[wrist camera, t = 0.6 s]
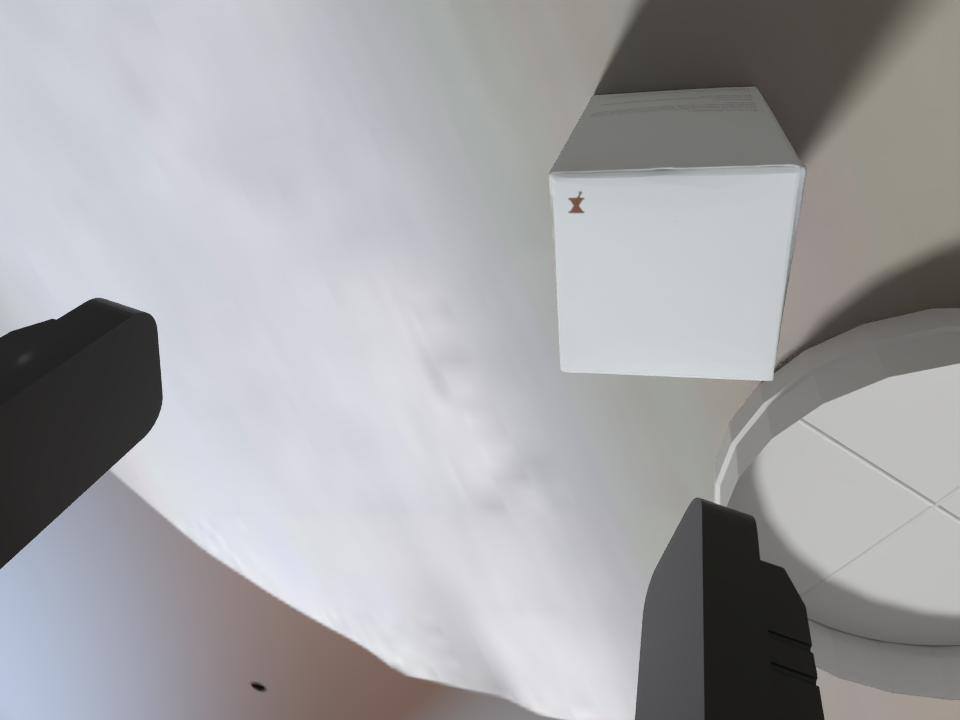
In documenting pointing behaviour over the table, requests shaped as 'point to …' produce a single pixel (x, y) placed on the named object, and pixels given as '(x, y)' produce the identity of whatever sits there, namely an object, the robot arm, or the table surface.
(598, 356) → the supplement box
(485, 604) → the table surface
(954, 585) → the dish
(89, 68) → the table surface
